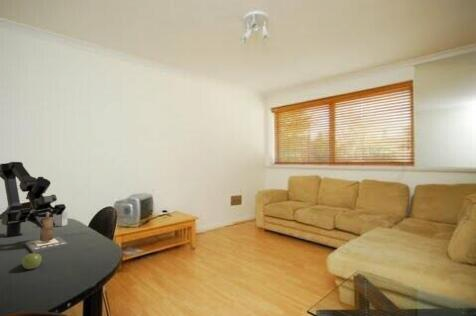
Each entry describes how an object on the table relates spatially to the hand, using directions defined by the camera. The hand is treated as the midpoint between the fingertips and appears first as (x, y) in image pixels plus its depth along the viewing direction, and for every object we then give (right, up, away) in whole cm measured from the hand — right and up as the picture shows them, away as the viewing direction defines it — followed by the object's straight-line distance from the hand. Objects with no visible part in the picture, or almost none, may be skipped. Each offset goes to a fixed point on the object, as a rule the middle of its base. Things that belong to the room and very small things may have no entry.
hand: (48, 226), depth 120 cm
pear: (+11, -9, -24) cm, 28 cm away
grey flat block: (-1, -9, 0) cm, 9 cm away
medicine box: (-21, -10, +37) cm, 44 cm away
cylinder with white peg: (-1, -7, 0) cm, 7 cm away
